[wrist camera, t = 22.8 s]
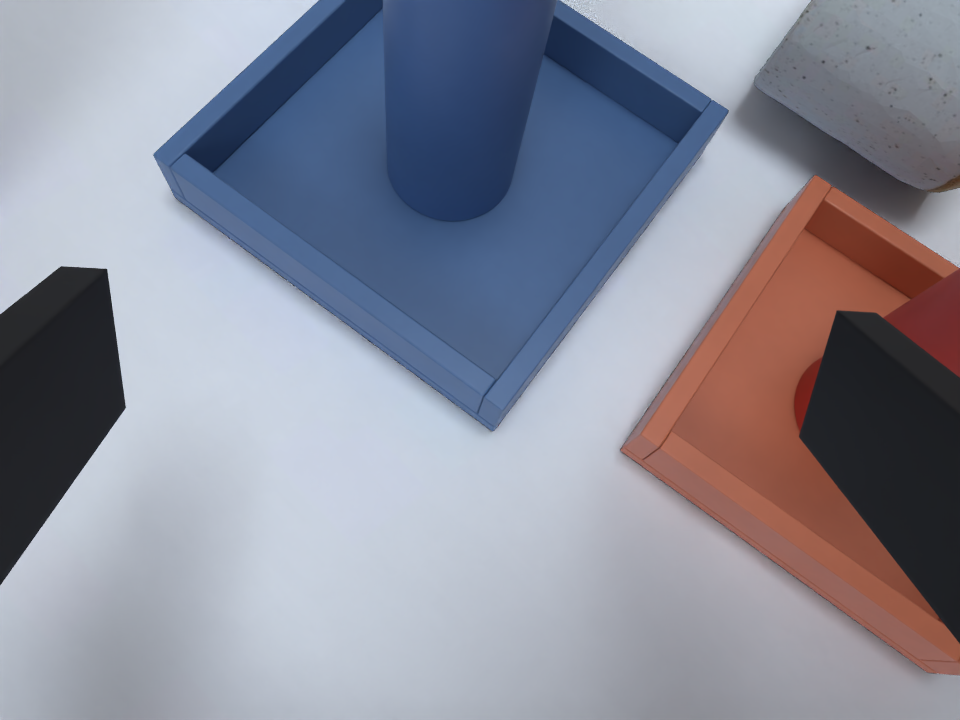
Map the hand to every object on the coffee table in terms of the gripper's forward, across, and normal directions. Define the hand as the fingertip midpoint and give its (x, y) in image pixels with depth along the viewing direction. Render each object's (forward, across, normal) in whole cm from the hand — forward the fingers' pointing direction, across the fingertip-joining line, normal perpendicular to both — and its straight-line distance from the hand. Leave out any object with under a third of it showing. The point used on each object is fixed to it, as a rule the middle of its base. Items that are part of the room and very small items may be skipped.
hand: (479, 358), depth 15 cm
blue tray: (+15, 0, 0) cm, 15 cm away
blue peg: (+15, 0, 0) cm, 15 cm away
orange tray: (+9, +13, -6) cm, 17 cm away
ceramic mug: (+19, +16, +3) cm, 25 cm away
